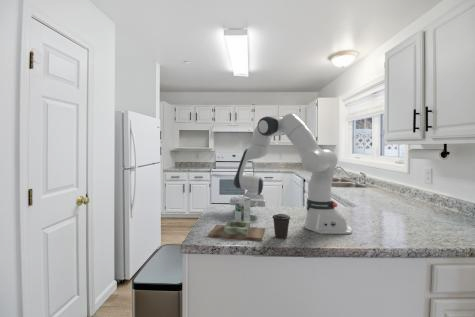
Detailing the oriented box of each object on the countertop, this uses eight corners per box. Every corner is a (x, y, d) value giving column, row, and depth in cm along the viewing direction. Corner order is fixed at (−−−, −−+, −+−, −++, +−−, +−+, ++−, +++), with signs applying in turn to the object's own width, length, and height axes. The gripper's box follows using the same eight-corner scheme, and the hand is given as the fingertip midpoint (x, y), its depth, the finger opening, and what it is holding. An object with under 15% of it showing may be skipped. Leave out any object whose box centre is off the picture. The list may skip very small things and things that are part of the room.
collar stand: (264, 230, 130) (264, 221, 130) (261, 240, 116) (261, 231, 116) (216, 227, 134) (216, 218, 134) (208, 236, 121) (208, 227, 120)
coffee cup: (276, 240, 116) (276, 218, 116) (269, 234, 124) (269, 213, 124) (293, 238, 119) (293, 216, 118) (285, 232, 126) (285, 212, 126)
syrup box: (234, 225, 138) (234, 197, 137) (242, 222, 142) (242, 195, 141) (242, 227, 134) (242, 198, 133) (250, 225, 138) (250, 197, 137)
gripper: (232, 193, 162) (227, 198, 148) (266, 195, 158) (264, 200, 144) (232, 204, 162) (227, 209, 149) (266, 205, 158) (264, 211, 145)
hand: (245, 205), depth 147 cm, fingers open, 8 cm apart
